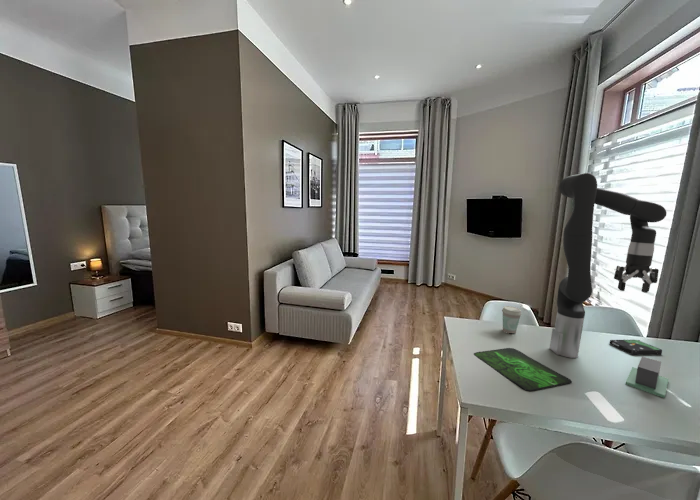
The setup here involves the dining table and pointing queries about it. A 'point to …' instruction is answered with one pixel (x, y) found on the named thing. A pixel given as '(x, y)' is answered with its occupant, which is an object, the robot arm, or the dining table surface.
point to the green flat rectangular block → (658, 391)
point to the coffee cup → (510, 318)
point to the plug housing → (648, 372)
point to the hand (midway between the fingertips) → (632, 291)
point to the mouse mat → (522, 369)
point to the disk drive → (635, 347)
